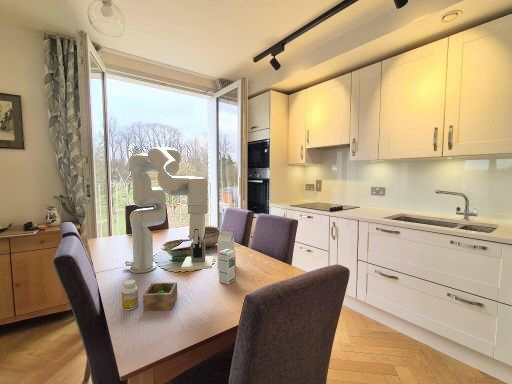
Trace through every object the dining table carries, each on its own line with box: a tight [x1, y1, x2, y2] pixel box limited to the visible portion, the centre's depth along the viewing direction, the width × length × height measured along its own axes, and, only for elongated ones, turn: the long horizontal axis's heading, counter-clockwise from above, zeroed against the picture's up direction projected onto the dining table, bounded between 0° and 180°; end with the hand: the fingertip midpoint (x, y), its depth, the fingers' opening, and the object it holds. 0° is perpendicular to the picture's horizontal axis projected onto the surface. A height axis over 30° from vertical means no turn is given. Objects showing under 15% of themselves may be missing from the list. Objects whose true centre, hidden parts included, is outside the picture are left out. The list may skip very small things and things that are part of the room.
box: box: [142, 281, 178, 312], centre depth 95 cm, size 10×10×6 cm
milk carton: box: [217, 231, 235, 269], centre depth 132 cm, size 7×7×19 cm
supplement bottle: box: [121, 279, 139, 311], centre depth 92 cm, size 5×5×10 cm
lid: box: [180, 240, 215, 270], centre depth 96 cm, size 11×11×8 cm
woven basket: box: [187, 225, 221, 249], centre depth 168 cm, size 25×19×12 cm
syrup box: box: [218, 249, 237, 285], centre depth 115 cm, size 6×6×14 cm
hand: (198, 255), depth 96 cm, fingers closed on lid, 3 cm apart
